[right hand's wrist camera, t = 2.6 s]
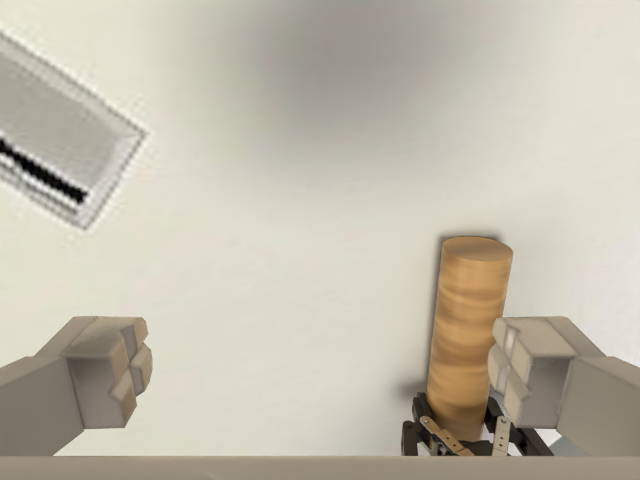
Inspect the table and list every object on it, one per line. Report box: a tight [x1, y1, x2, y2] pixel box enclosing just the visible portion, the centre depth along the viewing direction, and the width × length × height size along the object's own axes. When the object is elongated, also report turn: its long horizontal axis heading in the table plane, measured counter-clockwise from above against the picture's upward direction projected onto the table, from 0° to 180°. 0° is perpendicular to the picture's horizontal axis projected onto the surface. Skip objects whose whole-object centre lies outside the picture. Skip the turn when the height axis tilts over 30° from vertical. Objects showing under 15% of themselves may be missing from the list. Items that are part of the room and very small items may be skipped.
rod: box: [426, 236, 513, 442], centre depth 43 cm, size 22×6×6 cm, turn 0°
